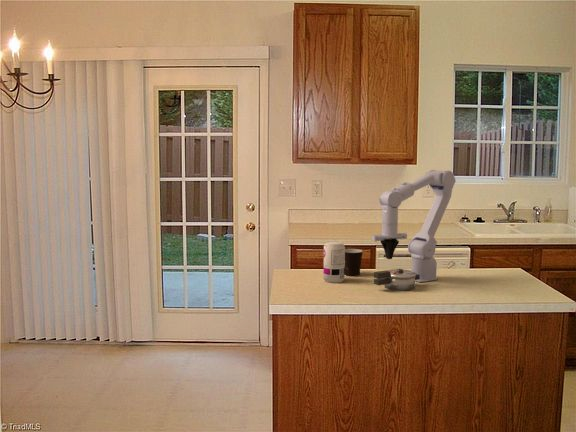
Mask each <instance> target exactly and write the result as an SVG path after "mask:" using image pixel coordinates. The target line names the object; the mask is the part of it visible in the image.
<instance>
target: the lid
mask: <svg viewBox="0 0 576 432" xmlns="http://www.w3.org/2000/svg"><path fill="white" fill-rule="evenodd" d="M415 276H416V273H415V272H413V271H411V270H408V269H403V268H392V269H386V270H385V269H384V270H378V271H374V272H373V279H380V278H387V277H392V278H401V279H405V278H413V277H415Z"/></svg>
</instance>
